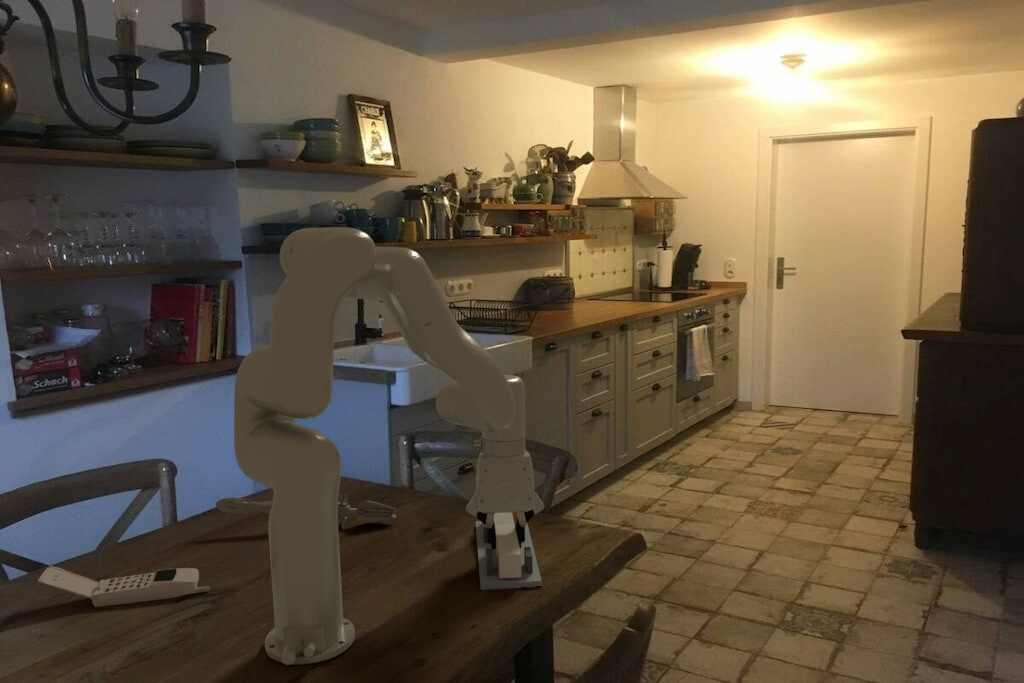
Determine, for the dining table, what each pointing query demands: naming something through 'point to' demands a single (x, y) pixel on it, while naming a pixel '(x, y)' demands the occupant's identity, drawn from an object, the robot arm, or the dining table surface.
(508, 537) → the long cream stick
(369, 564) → the dining table surface
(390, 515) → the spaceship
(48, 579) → the mobile phone
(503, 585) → the clip rail
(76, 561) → the dining table surface
